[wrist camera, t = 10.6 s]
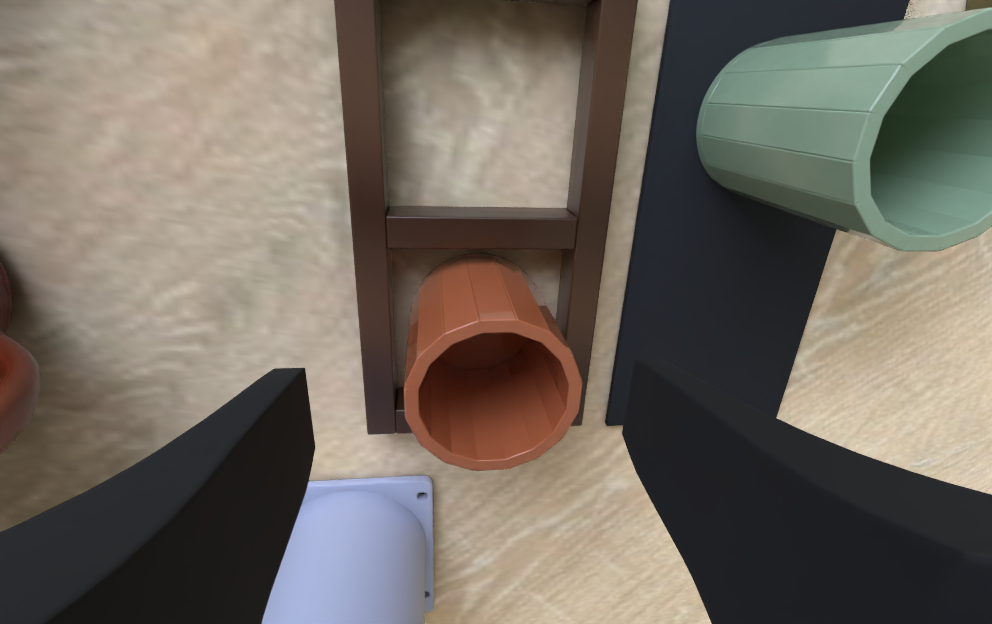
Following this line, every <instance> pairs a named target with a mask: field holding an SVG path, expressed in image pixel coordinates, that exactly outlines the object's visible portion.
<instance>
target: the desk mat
mask: <svg viewBox="0 0 992 624" xmlns="http://www.w3.org/2000/svg"><path fill="white" fill-rule="evenodd" d="M908 3H909V0H670V6H669V12H668V19H667V25H666V32H665V38H664V45H663V51H662V58H661V64H660V70H659V77H658V83H657V90H656V96H655V103H654V109H653V116H652V122H651V129H650V135H649V142H648V148H647V155H646V161H645V168H644V174H643V181H642V187H641V194H640V200H639V206H638V213H637V219H636V226H635V232H634V239H633V245H632V252H631V258H630V265H629V271H628V278H627V284H626V291H625V297H624V304H623V310H622V317H621V323H620V330H619V336H618V343H617V349H616V355H615V362H614V368H613V375H612V381H611V388H610V394H609V401H608V407H607V414H606V420H605V423H606V425H607V426H615V425H624V420H625V414H626V408H627V402H628V397H629V391H630V385H631V379H632V374H633V368H634V362H635V359H662V360H665V361H667V362H670V363H672V364H674V365H676V366H678V367H680V368H682V369H684V370H686V371H688V372H690V373H691V374H693V375H695V376H697V377H699V378H701V379H703V380H704V381H706V382H708V383H710V384H712V385H714V386H715V387H717V388H719V389H721V390H723V391H725V392H726V393H728V394H730V395H732V396H734V397H736V398H738V399H739V400H741V401H743V402H745V403H747V404H749V405H751V406H753V407H755V408H757V409H759V410H761V411H763V412H765V413H767V414H769V415H771V416H773V417H775V418H776V417H777V414H778V411H779V407H780V404H781V401H782V398H783V395H784V392H785V389H786V385H787V382H788V379H789V376H790V373H791V370H792V367H793V364H794V360H795V357H796V354H797V351H798V348H799V345H800V342H801V338H802V335H803V332H804V329H805V326H806V323H807V320H808V316H809V313H810V310H811V307H812V304H813V301H814V298H815V295H816V291H817V288H818V285H819V282H820V279H821V276H822V273H823V269H824V266H825V263H826V260H827V257H828V254H829V251H830V248H831V244H832V241H833V238H834V235H835V232H836V229H835V228H832V227H829V226H826V225H824V224H821V223H818V222H815V221H812V220H809V219H806V218H803V217H800V216H798V215H795V214H792V213H789V212H786V211H783V210H780V209H777V208H774V207H772V206H769V205H766V204H763V203H760V202H757V201H754V200H751V199H749V198H746V197H743V196H740V195H739V194H737V193H734V192H732V191H729V190H727V189H725V188H723V187H722V186H720V185H718V184H717V183H716V182H715V181H714V180H713V179H712V178H711V177H710V176H709V174H708V173H707V172H706V170H705V168H704V167H703V165H702V162H701V160H700V157H699V153H698V149H697V142H696V127H697V120H698V115H699V111H700V108H701V105H702V102H703V99H704V97H705V95H706V93H707V91H708V89H709V87H710V86H711V84H712V82H713V81H714V79H715V78H716V77H717V75H718V74H719V73H720V71H721V70H722V69H723V68H724V67H725V66H726V65H727V64H728V63H729V62H730V61H731V60H732V59H734V58H735V57H736V56H737V55H738V54H740V53H742V52H743V51H745V50H746V49H748V48H750V47H752V46H754V45H756V44H759V43H762V42H765V41H770V40H774V39H777V38H780V37H786V36H793V35H800V34H807V33H814V32H821V31H828V30H835V29H842V28H849V27H856V26H863V25H870V24H877V23H884V22H891V21H898V20H903V19H904V16H905V13H906V9H907V6H908Z"/></svg>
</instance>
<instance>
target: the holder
mask: <svg viewBox="0 0 992 624" xmlns="http://www.w3.org/2000/svg"><path fill="white" fill-rule="evenodd" d="M508 1H523V2H538V3H553V4H568V5H583V6H585V5H587V8H586V18H585V29H584V39H583V49H582V60H581V70H580V80H579V90H578V101H577V111H576V121H575V132H574V142H573V152H572V162H571V173H570V183H569V193H568V204H567V209H565V208H508V207H436V206H390V207H389V194H388V173H387V151H386V129H385V107H384V86H383V64H382V42H381V20H380V0H334V5H335V18H336V30H337V43H338V56H339V69H340V82H341V95H342V108H343V121H344V134H345V147H346V160H347V173H348V186H349V199H350V212H351V225H352V238H353V251H354V264H355V277H356V290H357V302H358V315H359V328H360V341H361V354H362V367H363V380H364V393H365V406H366V419H367V432H368V434H369V435H370V434H393V433H413V431H412V430H411V428H410V426H409V424H408V423H407V421H406V418H405V408H404V388H398V389H397V369H396V347H395V325H394V303H393V282H392V260H391V249H563V255H562V265H561V276H560V286H559V296H558V307H557V317H556V324H557V326H558V327H559V329H560V331H561V333H562V335H563V337H564V338H565V340H566V342H567V344H568V346H569V348H570V350H571V351H572V353H573V355H574V358H575V361H576V364H577V367H578V370H579V373H580V375H581V378H582V391H581V399H580V407H579V411H578V414H577V416H576V417H575V419H574V421H573V422H572V424H571V426H579V425H582V419H583V411H584V404H585V396H586V389H587V381H588V373H589V366H590V358H591V351H592V343H593V335H594V328H595V320H596V313H597V305H598V298H599V290H600V282H601V275H602V267H603V260H604V252H605V245H606V237H607V229H608V222H609V214H610V207H611V199H612V191H613V184H614V176H615V169H616V161H617V154H618V146H619V138H620V131H621V123H622V116H623V108H624V100H625V93H626V85H627V78H628V70H629V63H630V55H631V47H632V40H633V32H634V25H635V17H636V10H637V2H638V0H508Z"/></svg>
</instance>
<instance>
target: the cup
mask: <svg viewBox="0 0 992 624" xmlns="http://www.w3.org/2000/svg"><path fill="white" fill-rule="evenodd" d="M696 142H697V149H698V153H699V157H700V160H701V162H702V165H703V167H704V168H705V170H706V172H707V173H708V174H709V176H710V177H711V178H712V179H713V180H714V181H715V182H716V183H717V184H718V185H720V186H722V187H723V188H725V189H727V190H729V191H732V192H734V193H737V194H739V195H740V196H743V197H746V198H749V199H751V200H754V201H757V202H760V203H763V204H766V205H769V206H772V207H774V208H777V209H780V210H783V211H786V212H789V213H792V214H795V215H798V216H800V217H803V218H806V219H809V220H812V221H815V222H818V223H821V224H824V225H826V226H829V227H832V228H835V229H838V230H841V231H844V232H847V233H849V234H852V235H855V236H858V237H861V238H864V239H867V240H870V241H873V242H875V243H878V244H881V245H884V246H887V247H890V248H893V249H896V250H898V251H941V250H944V249H946V248H949V247H952V246H954V245H957V244H959V243H962V242H965V241H967V240H970V239H973V238H975V237H977V236H978V235H981V234H982V233H984V232H985V231H986V230H988V229H989V228H990V227H992V7H989V8H982V9H975V10H968V11H961V12H954V13H947V14H940V15H933V16H926V17H919V18H912V19H905V20H898V21H891V22H884V23H877V24H870V25H863V26H856V27H849V28H842V29H835V30H828V31H821V32H814V33H807V34H800V35H793V36H786V37H780V38H777V39H774V40H770V41H765V42H762V43H759V44H756V45H754V46H752V47H750V48H748V49H746V50H745V51H743V52H742V53H740V54H738V55H737V56H736V57H735V58H734V59H732V60H731V61H730V62H729V63H728V64H727V65H726V66H725V67H724V68H723V69H722V70H721V71H720V73H719V74H718V75H717V77H716V78H715V79H714V81H713V82H712V84H711V86H710V87H709V89H708V91H707V93H706V95H705V97H704V99H703V102H702V105H701V108H700V111H699V115H698V120H697V127H696Z"/></svg>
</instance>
